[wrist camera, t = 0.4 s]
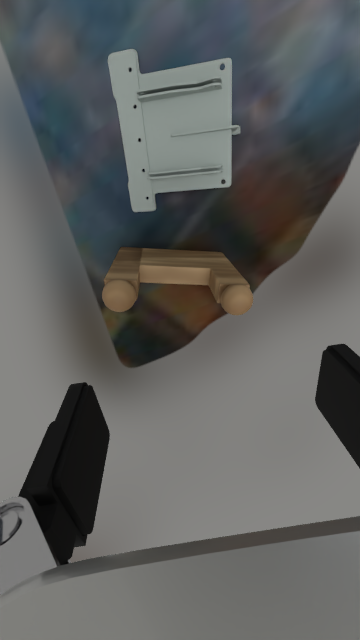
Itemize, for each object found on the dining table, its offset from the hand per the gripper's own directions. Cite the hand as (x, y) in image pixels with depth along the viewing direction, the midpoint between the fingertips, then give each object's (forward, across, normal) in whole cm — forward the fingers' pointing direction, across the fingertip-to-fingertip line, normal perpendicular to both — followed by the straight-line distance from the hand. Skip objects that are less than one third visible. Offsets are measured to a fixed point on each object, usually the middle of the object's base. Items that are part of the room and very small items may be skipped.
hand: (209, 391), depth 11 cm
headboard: (+29, 0, +2) cm, 29 cm away
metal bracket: (+30, -2, -11) cm, 32 cm away
